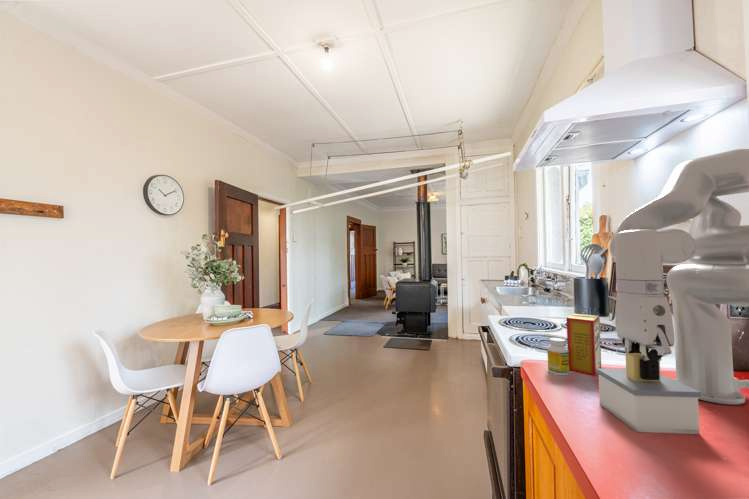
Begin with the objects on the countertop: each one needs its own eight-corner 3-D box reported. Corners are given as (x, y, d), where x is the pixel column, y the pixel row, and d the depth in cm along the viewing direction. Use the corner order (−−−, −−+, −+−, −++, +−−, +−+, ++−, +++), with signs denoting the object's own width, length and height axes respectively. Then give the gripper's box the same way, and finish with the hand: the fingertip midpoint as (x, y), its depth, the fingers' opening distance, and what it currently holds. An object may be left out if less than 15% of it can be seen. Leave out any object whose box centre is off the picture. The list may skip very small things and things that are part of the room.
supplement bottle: (553, 367, 92) (552, 335, 92) (572, 373, 87) (571, 339, 88) (544, 371, 89) (543, 338, 89) (563, 377, 84) (562, 342, 85)
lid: (651, 378, 68) (649, 347, 68) (701, 402, 57) (699, 365, 57) (596, 377, 69) (595, 346, 69) (634, 400, 58) (633, 364, 58)
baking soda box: (595, 376, 84) (593, 319, 85) (568, 370, 89) (566, 316, 90) (601, 367, 91) (599, 314, 92) (576, 362, 96) (574, 312, 96)
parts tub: (651, 405, 68) (650, 374, 68) (699, 434, 57) (697, 396, 57) (599, 404, 69) (598, 373, 69) (636, 431, 58) (635, 394, 58)
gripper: (695, 292, 55) (700, 394, 55) (629, 284, 71) (633, 363, 71) (651, 292, 56) (655, 392, 55) (596, 284, 72) (599, 362, 71)
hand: (643, 375), depth 63 cm, fingers open, 2 cm apart
